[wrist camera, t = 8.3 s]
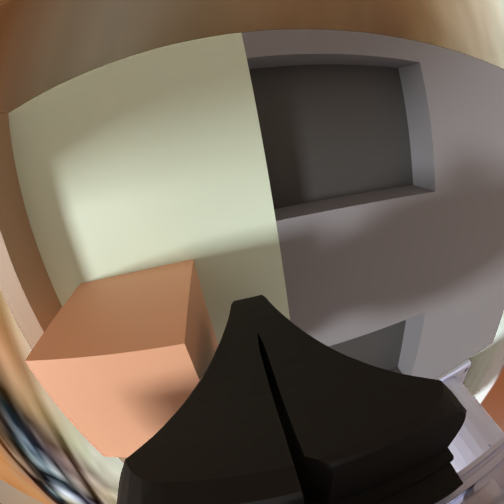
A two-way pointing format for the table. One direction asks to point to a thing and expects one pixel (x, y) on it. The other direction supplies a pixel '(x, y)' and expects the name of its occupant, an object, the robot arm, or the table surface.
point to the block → (126, 354)
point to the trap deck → (273, 188)
